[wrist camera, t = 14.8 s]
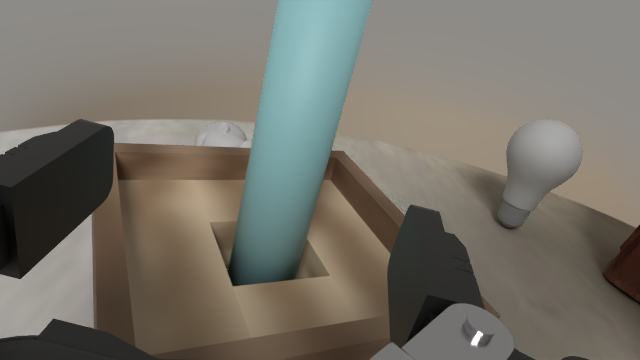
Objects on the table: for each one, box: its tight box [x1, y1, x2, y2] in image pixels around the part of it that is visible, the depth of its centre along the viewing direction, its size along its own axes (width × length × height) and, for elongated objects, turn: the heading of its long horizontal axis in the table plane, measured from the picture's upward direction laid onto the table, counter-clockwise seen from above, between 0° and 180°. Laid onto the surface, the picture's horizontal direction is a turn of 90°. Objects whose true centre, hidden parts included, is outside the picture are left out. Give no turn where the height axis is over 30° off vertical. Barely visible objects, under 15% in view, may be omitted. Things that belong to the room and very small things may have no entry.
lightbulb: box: [497, 119, 583, 228], centre depth 42 cm, size 6×6×11 cm
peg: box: [228, 0, 373, 286], centre depth 23 cm, size 4×4×19 cm
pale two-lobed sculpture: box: [195, 121, 252, 148], centre depth 40 cm, size 4×8×5 cm
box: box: [92, 143, 500, 360], centre depth 27 cm, size 18×18×6 cm
